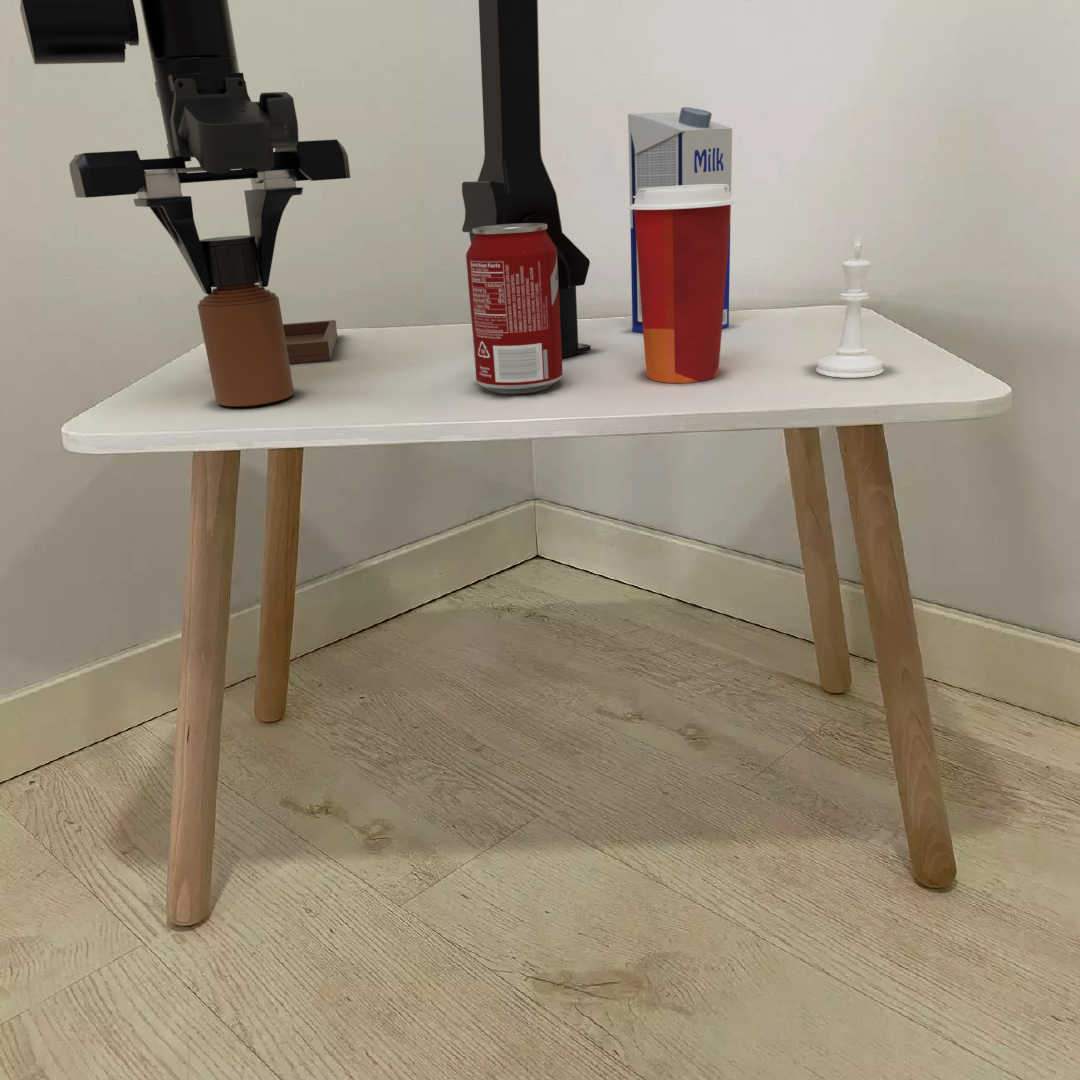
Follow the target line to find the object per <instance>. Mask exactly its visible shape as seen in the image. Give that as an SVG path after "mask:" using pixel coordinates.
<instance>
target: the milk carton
mask: <svg viewBox="0 0 1080 1080" xmlns="http://www.w3.org/2000/svg"><path fill="white" fill-rule="evenodd" d="M711 119H712V112H710V111H708V110H704V109H700V108H695V107H688V106H686V107H685V106H684V107H681V108H680V112H645V113H644V112H641V113H639V112H638V113H627V120H628V121H627V123H628V125H627V127H628V130H627V132H628V175H629V177H628V178H629V180H628V181H629V183H628V184H629V207H631V205H633V204H634V202H635V198H633V196H636V195H637V192H638V189H642V188H651V187H664V186H680V185H700V184H728V186H729V191H730V194H731V195H732V166H733V165H732V161H733V160H732V159H733V157H732V156H733V154H732V153H733V129H734V128H733V127H730V126H726V125H724V124H721V123H718V122H715V121H712V120H711ZM731 216H732V211H731V212H730V223H731V221H732V220H731V218H732V217H731ZM629 224H630V225H629V226H630V229H629V231H630V232H629V233H630V274H631V275H630V278H631V279H630V280H631V320H632V321H631V329H632V332H633V333H641V334H643V324H642V310H641V296H640V282H639V268H638V253H637V239H636V225H635V211H634V209H629ZM730 265H731V229H730V230H729V248H728V259H727V271H726V282H725V294H724V307H723V321H722V329H725V328H729V327H730V326H729V325H730V277H731V276H730V273H731V271H730V270H731V269H730V268H731V266H730Z"/></svg>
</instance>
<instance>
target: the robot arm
mask: <svg viewBox="0 0 1080 1080" xmlns="http://www.w3.org/2000/svg"><path fill="white" fill-rule="evenodd" d="M139 2H140V7H141V13H142V17H143V24H144V28H145V29H144V30H145V33H146V39H147V43H148V48H149V54H150V59H151V65H152V70H153V75H154V80H155V81H154V86H155V91H156V96H157V98H158V101H159V106H160V111H161V116H162V121H163V127H164V131H165V136H166V142H167V143H166V146H167V147H166V148H167V152H168V156H169V157H165V158H148V159H147V158H145V159H141V158H140V155H139V152H138V150H136V149H132V150H115V151H96V152H95V151H94V152H82V153H79V154H76V155H74V157H73V158H72V159H71V161H70V162H69V164H68V165H69V173H70V178H71V183H72V186H73V190H74V191H73V192H74V195H75V198H82V199H83V198H85V199H86V198H88V199H89V198H102V197H112V196H113V197H114V196H127V195H137V198H133V203H134V206H135V207H143V208H149V209H150V210H151V211H152V213H153V214H154V216H155V217H156V218H157V219H158V221H159V223H160V224H161V225H162V227H163V228H164V229H165V231H166V232H167V233H168V235H169V236H170V238H171V239H172V240H173V242H174V244H175V245H176V247H177V248H178V250H179V252H180V254H181V255H182V258H183V259H184V261H185V262H186V264H187V266H188V268H189V269H190V271H191V273H192V275H193V277H194V278H195V280H196V282H197V283H198V285H199V287H200V288H201V290H202V292H203V293H204V294H205V295H208V294H211V293H212V292H213V291H212V290H213V288H212V287H211V282H210V275H209V271H208V267H207V264H206V260H205V257H204V254H203V250H202V247H201V243H200V240H201V239H200V236H199V233H198V230H197V227H196V223H195V218H194V209H193V201H192V196H190V195H183V192H182V184H192V183H203V182H205V183H206V182H219V181H221V182H222V181H235V180H246V179H250V184H251V189H246V190H245V189H244V198H245V200H244V201H245V206H246V207H245V208H246V214H247V222H248V229H249V235H252V236H255V242H256V244H257V248H258V254H259V260H260V270H261V276H262V281H261V282H259V283H258V285H259V286H260V287H264V288H267V287H268V286H269V283H270V278H271V277H270V276H271V272H272V271H271V270H272V265H273V258H274V253H275V248H276V247H275V246H276V241H277V234H278V231H279V227H280V223H281V220H282V217H283V214H284V212H285V210H286V207H287V206H288V204H289V202H290V200H291V198H292V197H294V196H301V195H303V191H304V187H303V186H301V187H300V186H298V187H297V182H303V181H304V182H305V181H310V182H315V181H317V182H319V181H329V180H331V181H332V180H342V179H343V180H344V179H351V171H350V170H351V169H350V164H349V163H350V162H349V154H348V153H347V151H346V148H345V146H344V145H342V144H341V142H340V141H339V140H338V139H323V140H322V139H319V140H299V122H298V118H297V112H296V107H295V106H296V105H295V101H294V97H293V96H292V95H291V94H290V93H289V92H287V91H280V92H279V91H272V92H261V93H260V94H259V101H252V100H251V98H250V95H249V93H248V88H247V82H246V80H245V77H244V72H240V67H239V62H238V55H237V50H236V49H237V48H236V42H235V38H234V37H235V36H234V31H233V23H232V17H231V13H230V7H229V1H228V0H139ZM19 10H20V14H21V19H22V23H23V27H24V32H25V36H26V40H27V43H28V47H29V51H30V54H31V57H32V61H33V64H34V65H73V64H75V65H76V64H111V63H112V64H121V63H123V64H124V63H125V62H126V50H127V45H128V46H130V47H132V46H133V47H136V46H138V47H139V46H140V45H139V44H140V34H139V25H138V18H137V14H136V8H135V4H134V0H20V4H19ZM478 20H479V21H478V22H479V45H480V69H481V71H480V72H481V97H482V119H483V121H482V122H483V142H484V143H483V146H484V157H483V158H484V159H483V163H482V166H481V169H480V172H479V175H478V179H477V180H476V181H475V180H474V181H463V182H462V183H461V194H462V195H461V196H462V200H463V205H464V212H465V213H464V222H463V225H462V228H461V231H462V233H467V234H468V233H469V234H468V235H469V241H470V244H471V243H472V241H473V239H474V233H473V228H476V227H481V226H490V225H501V224H517V223H545V224H547V229H546V233H547V235H548V237H549V238H550V239H551V241H552V242H553V244H554V245H555V247H556V249H557V264H558V285H559V307H560V328H561V350H562V358H564V357H568V356H569V357H570V356H573V355H577V354H581V353H584V352H585V353H586V352H589V351H592V346H591V344H587V343H581V342H579V330H578V305H577V304H578V303H577V301H578V300H577V287H581V286H584V285H585V284H586V280H587V277H588V272H589V270H590V269H589V268H590V264H591V261H590V259H589V258H588V257H587V255H586V254H585V253H583V252H582V250H580V249H579V248H578V246H577V245H575V244H574V243H573V241H571V239H570V238H569V237H568V236H567V235H566V234H565V233H564V232H563V227H562V219H561V214H560V207H559V203H558V195H557V191H556V189H555V187H554V185H553V182H552V179H551V177H550V175H549V172H548V171H547V168H546V165H545V163H544V160H543V157H542V143H541V141H542V140H541V138H542V137H541V135H542V134H541V95H540V94H541V92H540V89H541V87H540V48H539V47H540V45H539V44H540V42H539V0H478ZM192 158H195V159H196V161H197V162H198V164H199V166H189V167H187V166H186V162H192Z"/></svg>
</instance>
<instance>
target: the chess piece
mask: <svg viewBox="0 0 1080 1080" xmlns="http://www.w3.org/2000/svg"><path fill="white" fill-rule="evenodd" d="M862 240H863V235H862V234H855V235H854V245H853V258H850V259H849V260H846V261H843V262H842V264H841V265H842V266H841V267H842V270H843V274H844V278H845V283H846V286H847V289H846V291H845V292H841V293H840V295H839V299H840V300H842V301H847V303H846V309H845V316H844V322H843V327H842V332H841V337H840V342H839V345H838V347H835V349H834V350H835V352H836V353H833V354H828V355H826V356H824V357H821V358H820V359H818V361H817V367H816V369H815V371H816V372H817V374H820V375H823V376H826V377H834V378H841V379H842V378H845V379H847V378H848V379H851V378H852V379H855V378H856V379H857V378H858V379H859V378H869V377H875V376H878V375H880V374H883V373H884V368H883V364H884V362H883V360H882V359H880V357H877V356H874V355H872V354H868V353H865V352H867V350H868V349H867V348H866V347H864V344H863V343H864V342H863V331H862V330H863V328H862V309H861V307H862V306H861V302H862V301H865V300H868V299H870V296H869V295H870V294H869V293H868V292H866V291H864V290H863V286H864V284H865V282H866V278H867V275H868V273H869V271H870V269H871V265H872V263H871V262H870V261H869V260H866V259H864V258H862V257H861V255H862V249H863V248H862V247H863V241H862Z"/></svg>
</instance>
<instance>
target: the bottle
mask: <svg viewBox="0 0 1080 1080" xmlns="http://www.w3.org/2000/svg"><path fill="white" fill-rule="evenodd" d="M197 310H198V311H197V312H198V316H199V321H200V326H201V331H202V336H203V341H204V347H205V352H206V357H207V361H208V367H209V372H210V377H211V381H212V388H213V393H214V397H215V402H216V404H218V405H221V406H224V407H253V406H261V405H266V404H270V403H271V404H272V403H275V402H279V401H282V400H284V399H288V398H290V397H291V396H293V395H294V394H295V389H294V383H293V377H292V371H291V366H290V365H291V364H289V358H288V352H287V346H286V340H285V334H284V328H283V324H284V322H283V315H282V310H281V304H280V297H279V296H277V294H276V293H275V292H272V291H271V290H269V289H266V287H261V286H260V285H259V284H258V283H255V284H249V285H242V286H232V287H214V288H212V293H211V294H206V295H205V296H203V299H201V300H199V303H198V304H197Z"/></svg>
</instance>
